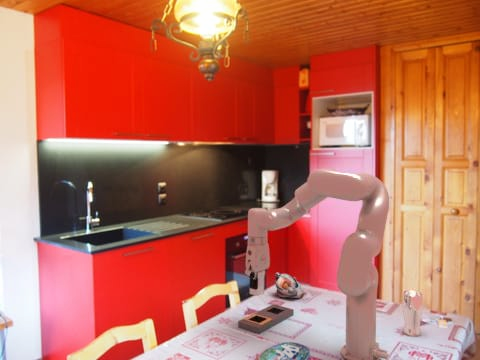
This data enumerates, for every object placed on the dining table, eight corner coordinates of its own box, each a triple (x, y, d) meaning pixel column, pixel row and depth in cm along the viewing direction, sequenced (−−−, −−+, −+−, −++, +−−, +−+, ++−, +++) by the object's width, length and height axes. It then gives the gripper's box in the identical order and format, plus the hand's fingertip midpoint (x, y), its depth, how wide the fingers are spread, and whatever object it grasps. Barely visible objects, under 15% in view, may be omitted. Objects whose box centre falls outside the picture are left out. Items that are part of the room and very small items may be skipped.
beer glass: (410, 337, 145) (411, 297, 144) (398, 330, 151) (398, 291, 151) (426, 335, 147) (427, 295, 146) (413, 328, 153) (414, 289, 153)
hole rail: (293, 316, 165) (293, 308, 165) (259, 335, 147) (259, 327, 147) (273, 311, 172) (273, 303, 172) (238, 328, 153) (238, 320, 153)
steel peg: (264, 293, 155) (264, 270, 154) (257, 296, 152) (258, 272, 151) (255, 291, 157) (256, 268, 157) (249, 293, 154) (249, 270, 154)
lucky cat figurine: (309, 297, 188) (304, 275, 182) (288, 310, 185) (283, 288, 178) (292, 280, 201) (286, 259, 194) (272, 292, 197) (266, 271, 191)
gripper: (252, 245, 144) (251, 294, 145) (277, 238, 157) (277, 284, 158) (236, 242, 149) (235, 290, 150) (262, 236, 162) (261, 280, 163)
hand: (257, 286), depth 154 cm, fingers closed on steel peg, 4 cm apart
